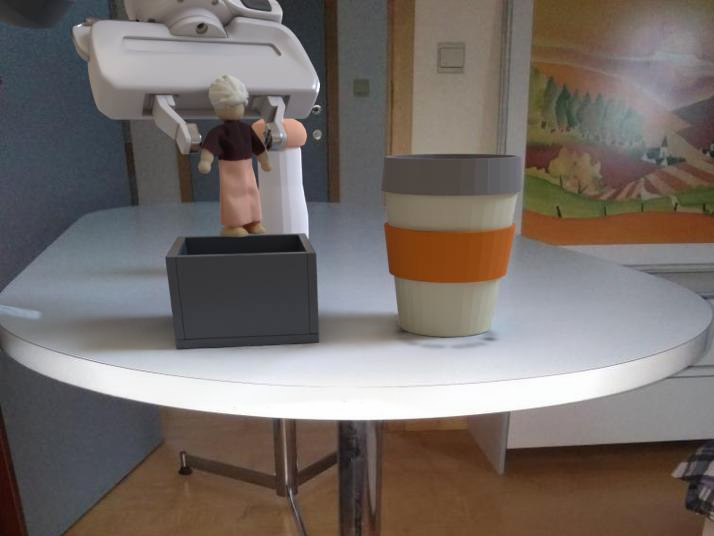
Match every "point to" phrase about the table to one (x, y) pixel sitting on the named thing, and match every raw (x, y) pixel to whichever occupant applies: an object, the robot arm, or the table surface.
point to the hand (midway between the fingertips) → (237, 147)
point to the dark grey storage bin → (243, 290)
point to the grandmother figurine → (234, 159)
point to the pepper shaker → (283, 183)
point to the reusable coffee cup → (449, 237)
